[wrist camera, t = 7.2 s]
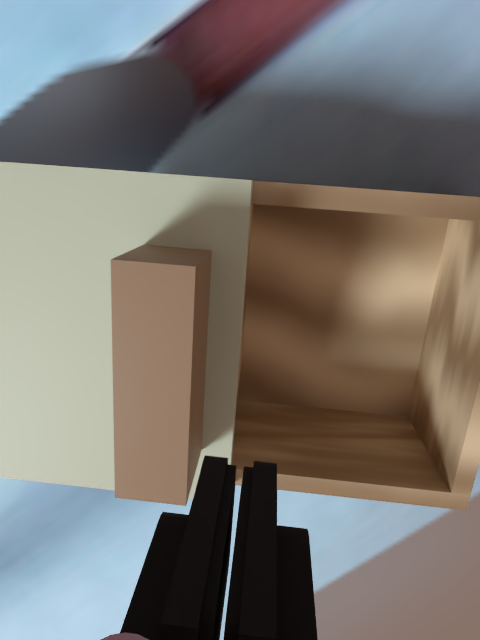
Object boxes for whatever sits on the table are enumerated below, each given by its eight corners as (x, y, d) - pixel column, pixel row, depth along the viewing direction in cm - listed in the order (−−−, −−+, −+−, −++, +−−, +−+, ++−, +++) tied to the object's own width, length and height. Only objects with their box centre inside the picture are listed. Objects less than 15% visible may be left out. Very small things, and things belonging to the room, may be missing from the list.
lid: (-55, 158, 20) (-165, 149, 15) (253, 180, 19) (244, 178, 14) (-18, 460, 25) (-92, 529, 20) (230, 487, 24) (218, 566, 19)
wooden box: (240, 180, 28) (224, 178, 20) (463, 196, 27) (550, 201, 19) (225, 404, 33) (207, 481, 24) (415, 423, 32) (466, 510, 24)
